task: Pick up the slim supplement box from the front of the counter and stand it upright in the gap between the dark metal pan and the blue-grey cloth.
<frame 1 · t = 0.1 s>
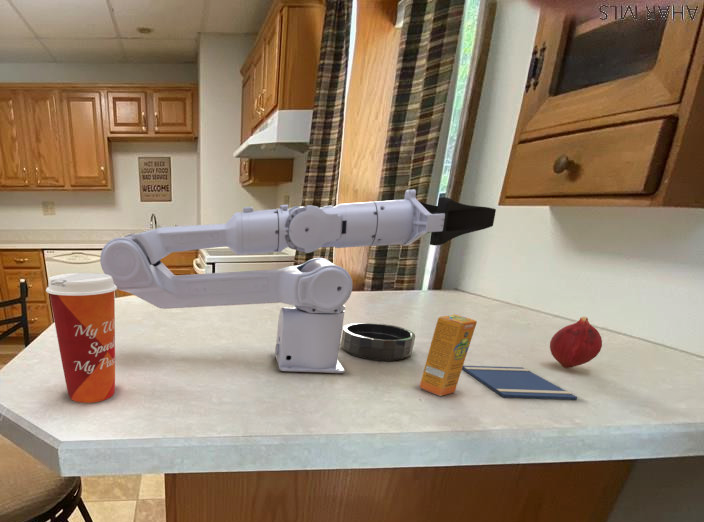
hand: (476, 217, 56), 22 cm above the countertop, tool horizontal, fingers open, 7 cm apart
coffee cup: (92, 394, 56), on the countertop
supplement box: (437, 392, 57), on the countertop
pan: (374, 350, 73), on the countertop
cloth: (513, 382, 60), on the countertop
onion: (566, 369, 65), on the countertop
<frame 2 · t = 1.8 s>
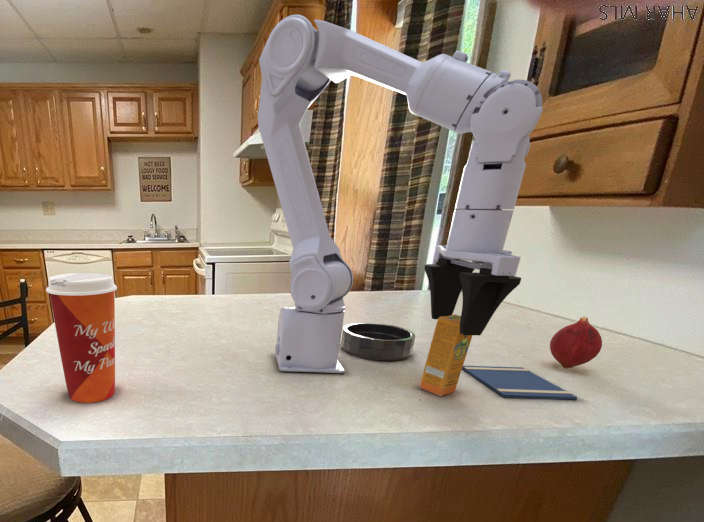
hand: (454, 326, 53), 9 cm above the countertop, tool pointing down, fingers open, 7 cm apart
nothing on the countertop moved.
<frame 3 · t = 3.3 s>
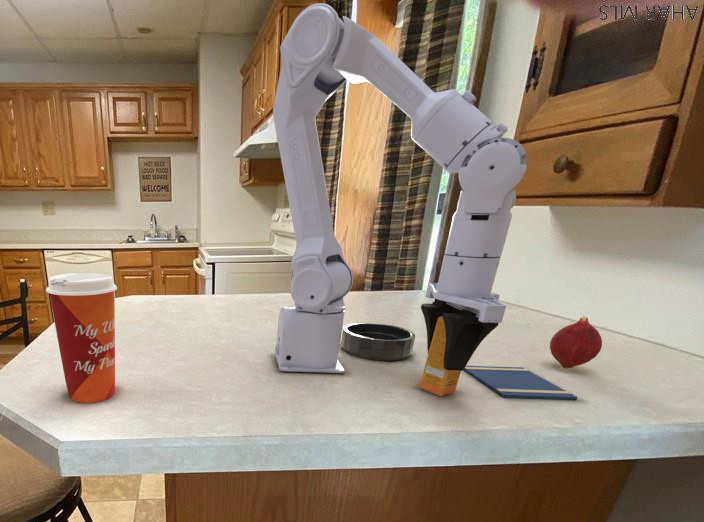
hand: (444, 363, 55), 4 cm above the countertop, tool pointing down, fingers closed on supplement box, 4 cm apart
supplement box: (437, 391, 57), on the countertop, touching gripper
everything else where it was.
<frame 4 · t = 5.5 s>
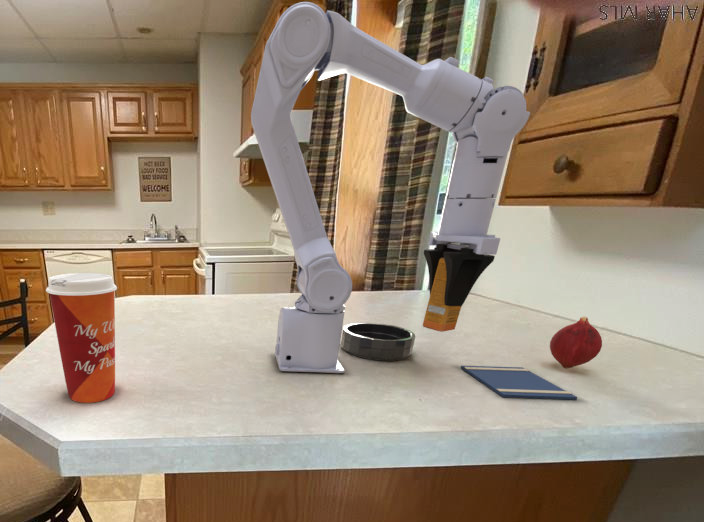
hand: (445, 302, 61), 10 cm above the countertop, tool pointing down, fingers closed on supplement box, 4 cm apart
supplement box: (439, 329, 62), point 6 cm above the countertop, touching gripper
everything else where it was.
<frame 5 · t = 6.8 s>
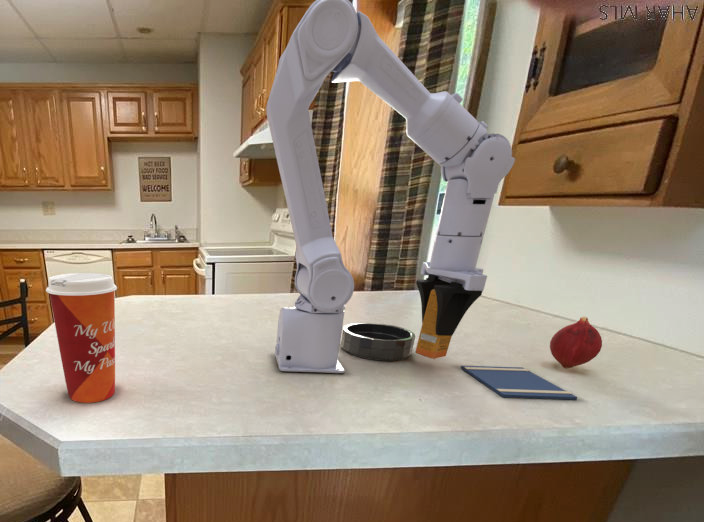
hand: (436, 330, 64), 6 cm above the countertop, tool pointing down, fingers closed on supplement box, 4 cm apart
supplement box: (431, 356, 65), point 2 cm above the countertop, touching gripper
everything else where it was.
when the fingers open (4 cm above the countertop, at t = 7.8 s): supplement box stays where it is, on the countertop.
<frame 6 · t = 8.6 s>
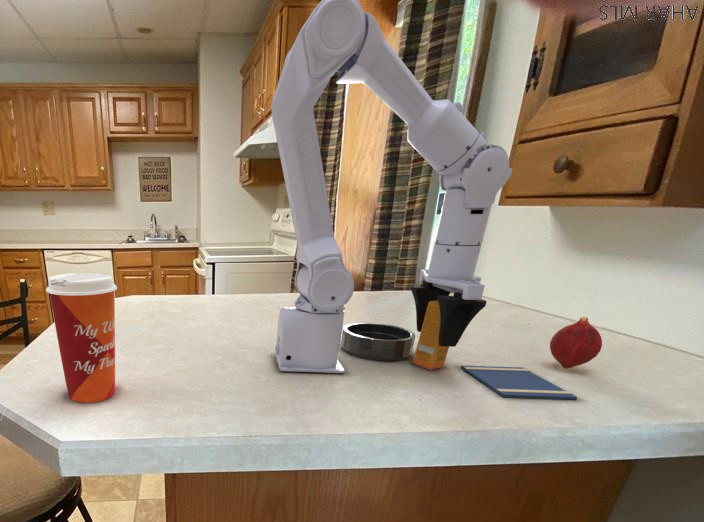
hand: (435, 338, 64), 4 cm above the countertop, tool pointing down, fingers open, 7 cm apart
supplement box: (428, 367, 66), on the countertop
everything else where it was.
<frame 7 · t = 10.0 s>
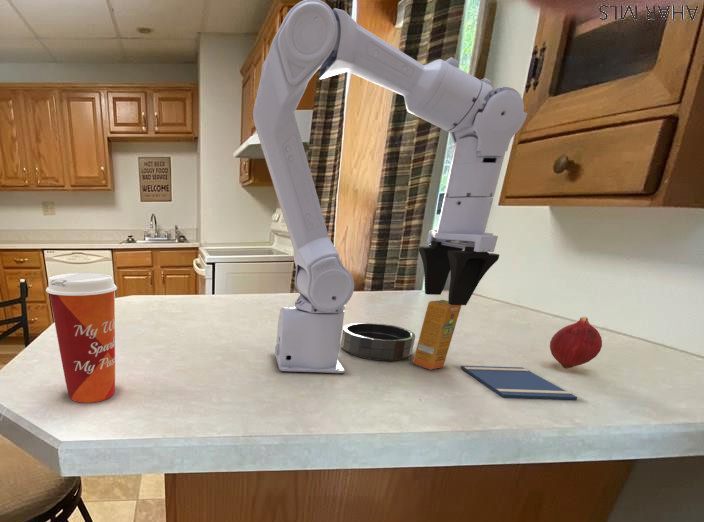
hand: (444, 299, 62), 10 cm above the countertop, tool pointing down, fingers open, 7 cm apart
nothing on the countertop moved.
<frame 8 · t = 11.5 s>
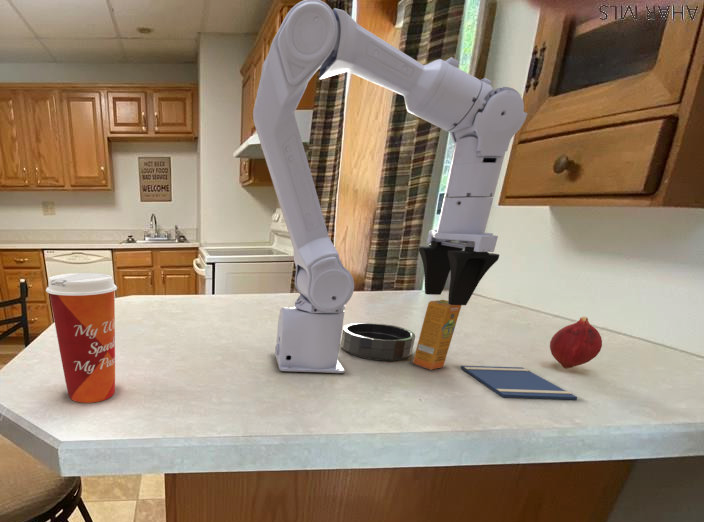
hand: (444, 299, 62), 10 cm above the countertop, tool pointing down, fingers open, 7 cm apart
nothing on the countertop moved.
at the end: supplement box 0.0 cm from the target spot, on the countertop; supplement box tilted 0°; the gripper is holding nothing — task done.
